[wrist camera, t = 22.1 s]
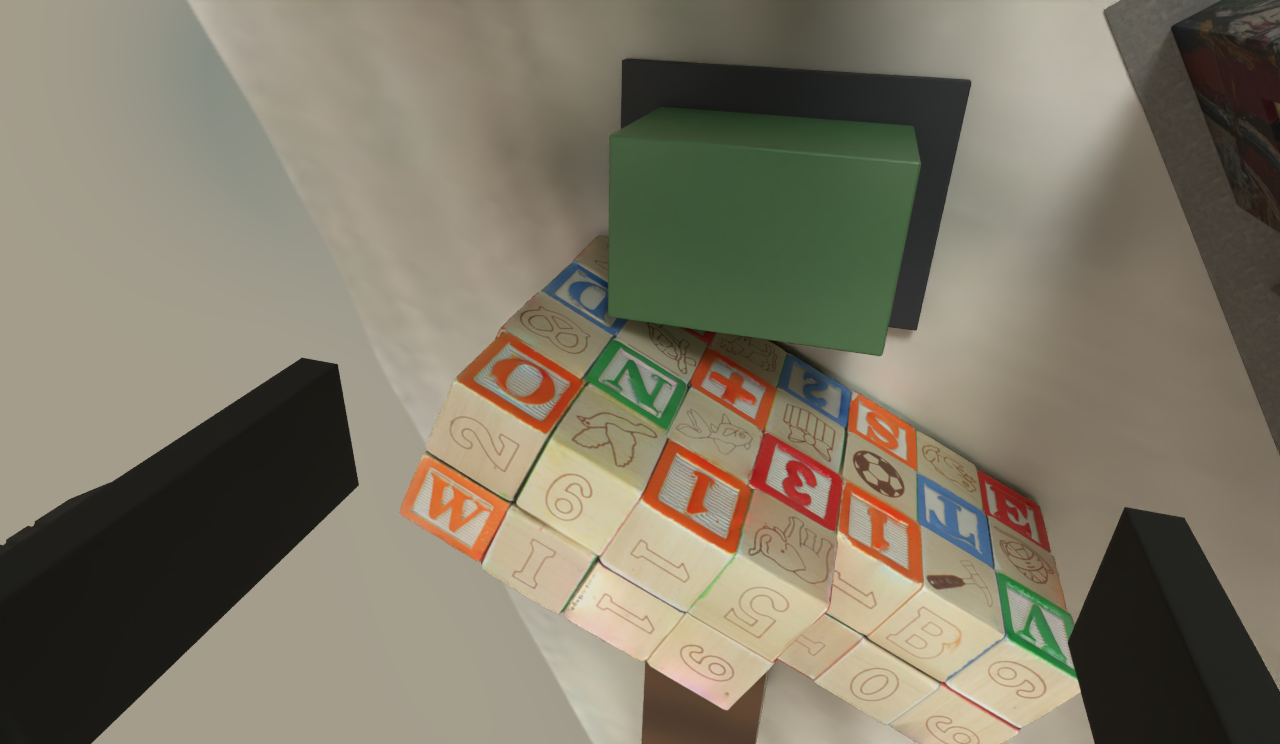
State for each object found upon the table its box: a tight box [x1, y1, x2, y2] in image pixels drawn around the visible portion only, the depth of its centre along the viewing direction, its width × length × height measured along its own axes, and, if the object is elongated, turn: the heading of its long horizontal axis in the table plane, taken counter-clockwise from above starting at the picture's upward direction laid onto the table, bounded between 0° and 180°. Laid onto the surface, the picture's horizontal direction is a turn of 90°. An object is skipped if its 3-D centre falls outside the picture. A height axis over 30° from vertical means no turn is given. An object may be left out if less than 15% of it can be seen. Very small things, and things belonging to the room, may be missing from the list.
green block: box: [608, 107, 921, 356], centre depth 26 cm, size 6×9×6 cm, turn 88°
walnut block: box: [642, 661, 769, 744], centre depth 36 cm, size 10×5×7 cm, turn 178°
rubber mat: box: [621, 59, 971, 330], centre depth 28 cm, size 9×12×1 cm
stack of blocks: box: [400, 235, 1081, 744], centre depth 27 cm, size 21×6×12 cm, turn 62°
